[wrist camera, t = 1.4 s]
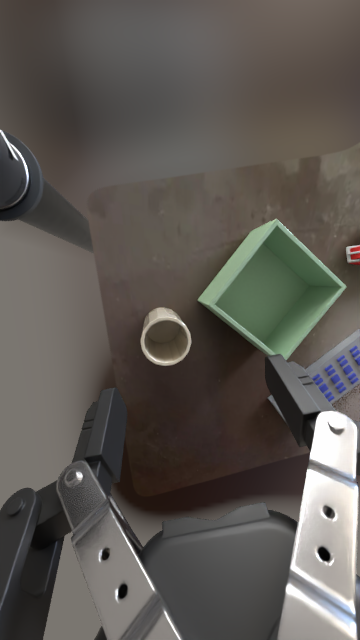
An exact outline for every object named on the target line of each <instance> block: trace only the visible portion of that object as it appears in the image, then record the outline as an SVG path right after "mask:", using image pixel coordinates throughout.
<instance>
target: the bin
mask: <svg viewBox="0 0 360 640" xmlns="http://www.w3.org/2000/svg"><path fill="white" fill-rule="evenodd" d="M345 288H346V286H345V285H344V284H343V283H342V282H341V281H340V280H339V279H338V278H337V277H336V276H335V275H334V274H333V273H332V272H331V271H330V270H329V269H328V268H327V267H326V266H325V265H324V264H323V263H322V262H321V261H320V260H319V259H317V258H316V257H315V256H314V255H313V254H312V253H311V252H310V251H309V250H308V249H307V248H306V247H305V246H304V245H303V244H302V243H301V242H300V241H299V240H298V239H297V238H296V237H295V236H294V235H293V234H292V233H291V232H290V231H289V230H288V229H287V228H285V227H284V226H283V225H282V224H281V223H280V222H279V221H278V220H277V219H275V220H273V221H271V222H269V223H267V224H265V225H263V226H260V227H258V228H256V229H254V230H252V231H251V232H250V233H249V235H248V236H247V237H246V239H245V240H244V241H243V242H242V244H241V245H240V246H239V248H238V249H237V250H236V251H235V253H234V254H233V255H232V256H231V258H230V259H229V260H228V262H227V263H226V264H225V265H224V267H223V268H222V269H221V271H220V272H219V273H218V274H217V276H216V277H215V278H214V279H213V281H212V282H211V283H210V285H209V286H208V287H207V288H206V290H205V291H204V292H203V294H202V295H201V296H200V297H199V299H198V301H199V302H200V303H201V304H203V305H204V306H205V307H206V308H208V309H209V310H210V311H211V312H213V313H214V314H215V315H216V316H218V317H219V318H220V319H221V320H223V321H224V322H225V323H226V324H228V325H229V326H230V327H231V328H233V329H234V330H235V331H236V332H238V333H239V334H240V335H241V336H243V337H244V338H245V339H246V340H248V341H249V342H250V343H251V344H253V345H254V346H255V347H256V348H258V349H259V350H261V351H262V352H264V353H265V354H267V355H268V356H271V355H275V354H281V355H282V356H283V357H284V359H285V360H287V359H288V357H289V356H290V355H291V354H292V353H293V351H294V350H295V349H296V348H297V346H298V345H299V344H300V343H301V342H302V340H303V339H304V338H305V337H306V336H307V334H308V333H309V332H310V331H311V329H312V328H313V327H314V326H315V325H316V323H317V322H318V321H319V320H320V319H321V317H322V316H323V315H324V314H325V313H326V311H327V310H328V309H329V308H330V306H331V305H332V304H333V303H334V302H335V300H336V299H337V298H338V297H339V296H340V294H341V293H342V292H343V291H344V290H345Z"/></svg>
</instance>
